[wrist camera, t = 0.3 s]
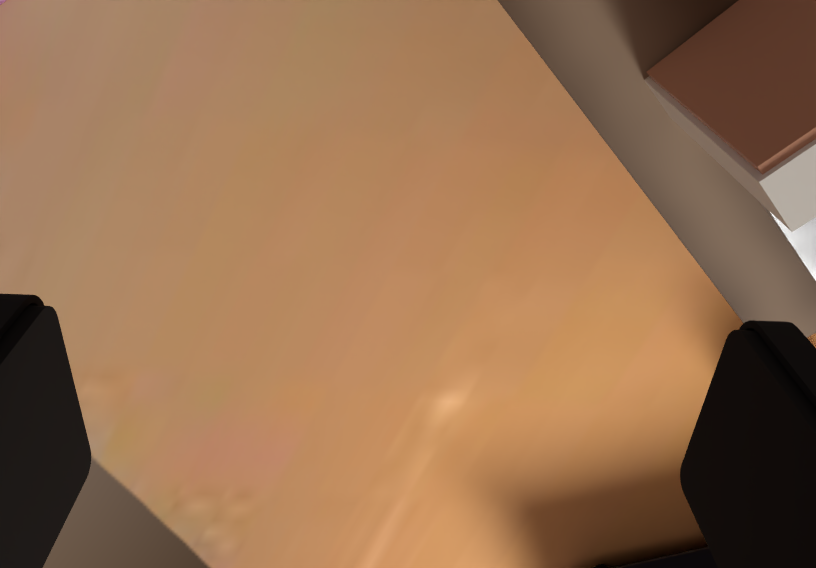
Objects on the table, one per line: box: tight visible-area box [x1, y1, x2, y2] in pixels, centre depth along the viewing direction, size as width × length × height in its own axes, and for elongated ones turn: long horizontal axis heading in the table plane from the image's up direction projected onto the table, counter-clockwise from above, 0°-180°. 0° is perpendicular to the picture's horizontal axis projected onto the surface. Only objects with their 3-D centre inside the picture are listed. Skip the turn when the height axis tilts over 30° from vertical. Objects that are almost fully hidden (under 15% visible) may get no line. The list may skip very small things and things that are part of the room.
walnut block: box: [498, 0, 816, 338], centre depth 32 cm, size 14×28×12 cm, turn 41°
